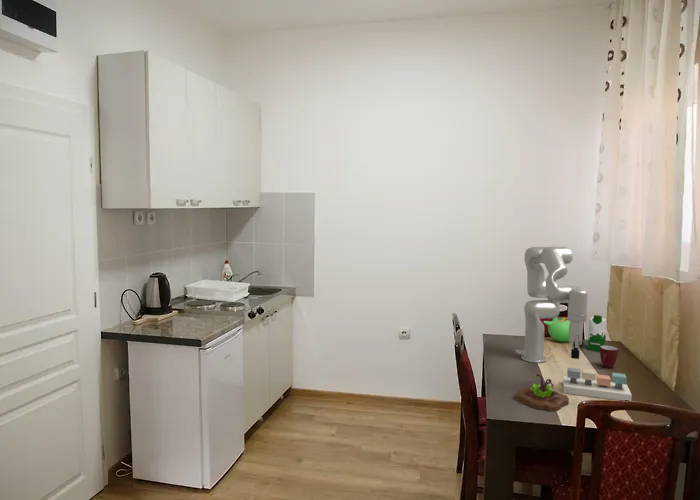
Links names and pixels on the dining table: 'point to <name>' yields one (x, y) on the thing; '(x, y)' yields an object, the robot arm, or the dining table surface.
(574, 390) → the keypad base
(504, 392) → the dining table surface
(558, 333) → the toy bird
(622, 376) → the key
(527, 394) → the plant
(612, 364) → the mug
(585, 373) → the key
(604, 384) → the key
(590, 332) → the milk carton
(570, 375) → the key
